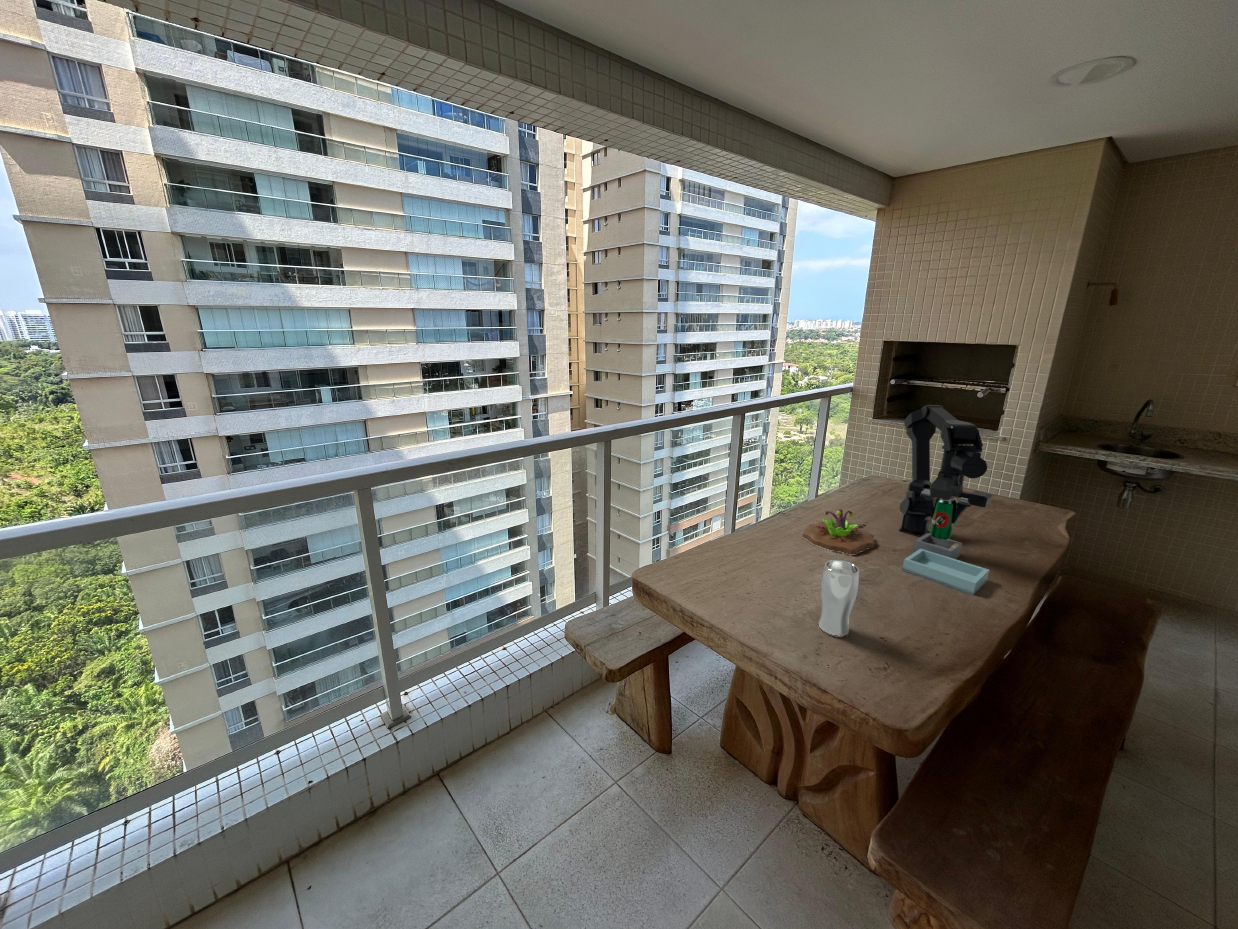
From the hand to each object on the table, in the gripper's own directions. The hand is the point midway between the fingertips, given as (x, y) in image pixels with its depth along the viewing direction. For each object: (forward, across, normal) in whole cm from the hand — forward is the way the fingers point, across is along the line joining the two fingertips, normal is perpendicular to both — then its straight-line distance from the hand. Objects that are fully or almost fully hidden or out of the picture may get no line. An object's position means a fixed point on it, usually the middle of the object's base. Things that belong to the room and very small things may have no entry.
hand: (943, 520), depth 130 cm
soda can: (+5, 0, 0) cm, 5 cm away
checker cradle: (+11, 0, 0) cm, 11 cm away
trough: (+11, +6, -13) cm, 18 cm away
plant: (+11, -23, -13) cm, 29 cm away
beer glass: (+11, 0, -59) cm, 60 cm away
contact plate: (+11, 0, 0) cm, 11 cm away
